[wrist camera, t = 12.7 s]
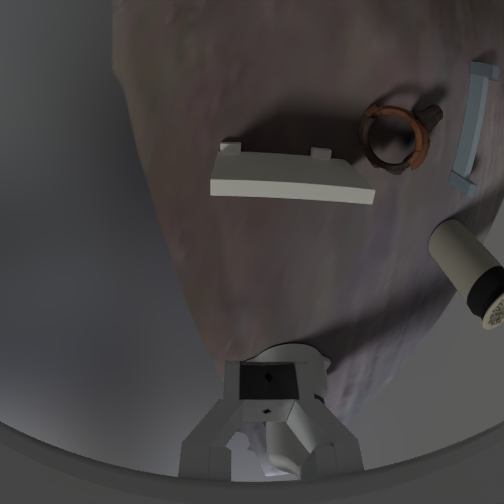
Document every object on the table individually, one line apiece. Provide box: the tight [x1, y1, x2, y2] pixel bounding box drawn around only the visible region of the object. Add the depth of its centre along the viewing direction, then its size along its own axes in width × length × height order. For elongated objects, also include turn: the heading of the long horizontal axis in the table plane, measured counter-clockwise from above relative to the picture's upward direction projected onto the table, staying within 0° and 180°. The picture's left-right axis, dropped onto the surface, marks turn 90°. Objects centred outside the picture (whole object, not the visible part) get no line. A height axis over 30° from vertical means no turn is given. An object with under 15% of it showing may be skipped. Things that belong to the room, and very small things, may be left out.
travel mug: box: [429, 219, 504, 329], centre depth 35 cm, size 8×8×18 cm
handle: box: [448, 61, 500, 198], centre depth 29 cm, size 20×2×5 cm, turn 177°
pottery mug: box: [359, 104, 443, 175], centre depth 30 cm, size 12×10×8 cm
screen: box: [211, 142, 375, 204], centre depth 31 cm, size 4×16×10 cm, turn 87°
